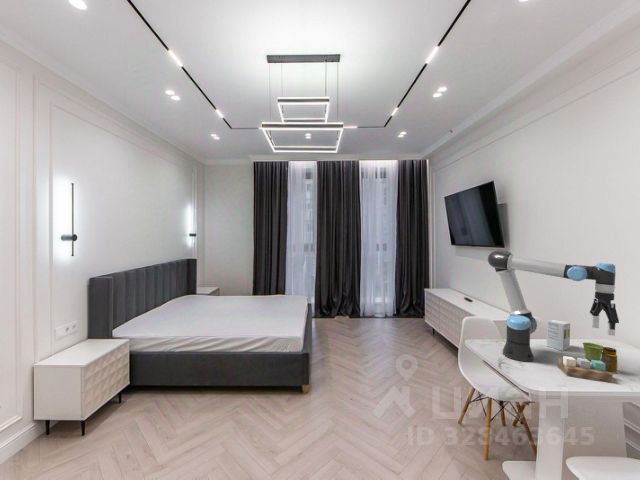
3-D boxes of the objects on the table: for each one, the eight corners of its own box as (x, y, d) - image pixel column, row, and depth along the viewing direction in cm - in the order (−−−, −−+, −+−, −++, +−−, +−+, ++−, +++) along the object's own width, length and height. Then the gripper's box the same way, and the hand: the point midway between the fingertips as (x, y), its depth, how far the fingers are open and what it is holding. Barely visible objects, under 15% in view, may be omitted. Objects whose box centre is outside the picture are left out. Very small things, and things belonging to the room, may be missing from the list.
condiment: (621, 373, 155) (622, 350, 155) (609, 374, 154) (610, 351, 154) (605, 367, 163) (605, 345, 163) (593, 368, 161) (594, 346, 161)
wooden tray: (567, 375, 150) (567, 368, 150) (557, 366, 161) (557, 359, 161) (612, 382, 144) (612, 374, 144) (598, 372, 155) (599, 365, 155)
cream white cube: (566, 366, 153) (566, 358, 153) (562, 363, 157) (563, 356, 157) (575, 367, 152) (575, 360, 152) (572, 364, 156) (572, 357, 156)
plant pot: (608, 364, 167) (608, 348, 167) (589, 362, 168) (589, 347, 168) (596, 357, 176) (596, 343, 176) (578, 356, 178) (578, 341, 178)
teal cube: (595, 370, 149) (595, 362, 149) (591, 367, 153) (591, 359, 153) (605, 371, 148) (605, 364, 148) (600, 368, 152) (601, 361, 152)
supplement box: (563, 351, 186) (563, 324, 185) (546, 346, 194) (546, 320, 194) (569, 348, 190) (570, 322, 190) (553, 343, 198) (553, 319, 198)
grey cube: (580, 368, 151) (580, 360, 151) (576, 365, 155) (577, 357, 155) (590, 369, 150) (590, 362, 150) (586, 366, 154) (586, 359, 154)
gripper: (630, 297, 144) (628, 339, 144) (599, 288, 168) (597, 325, 168) (610, 295, 146) (609, 337, 147) (583, 287, 170) (581, 324, 170)
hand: (602, 331), depth 157 cm, fingers open, 13 cm apart
